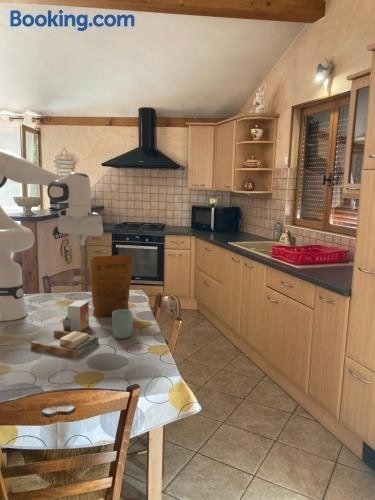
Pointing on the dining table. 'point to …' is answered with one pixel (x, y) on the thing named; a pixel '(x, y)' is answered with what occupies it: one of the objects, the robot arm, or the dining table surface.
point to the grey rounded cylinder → (67, 324)
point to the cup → (122, 323)
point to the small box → (79, 315)
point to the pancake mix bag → (110, 283)
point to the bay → (64, 350)
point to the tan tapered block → (73, 339)
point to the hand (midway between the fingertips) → (80, 245)
